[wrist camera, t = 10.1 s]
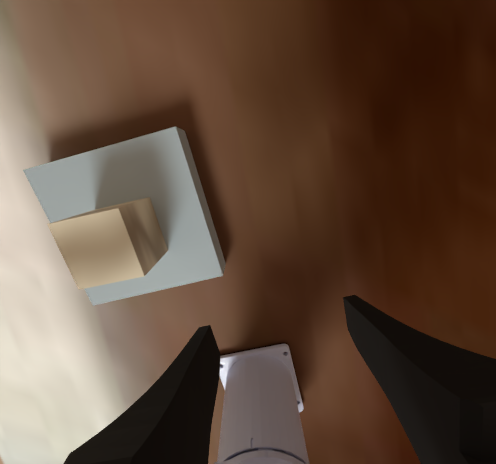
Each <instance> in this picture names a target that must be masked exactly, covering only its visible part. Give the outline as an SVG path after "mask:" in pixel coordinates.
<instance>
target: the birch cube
mask: <svg viewBox="0 0 496 464" xmlns="http://www.w3.org/2000/svg"><path fill="white" fill-rule="evenodd" d="M47 225H48V227H49V229H50V231H51V233H52V235H53V237H54V239H55V241H56V243H57V245H58V248H59V250H60V252H61V254H62V256H63V258H64V260H65V262H66V264H67V266H68V268H69V270H70V272H71V275H72V277H73V279H74V281H75V283H76V285H77V287H78V289H79V290H80V289H85V288H90V287H95V286H100V285H105V284H110V283H115V282H119V281H124V280H129V279H134V278H139V277H144V276H145V275H146V274H147V273H148V272H149V271H150V270H151V269H152V268H153V267H154V266H155V264H156V263H157V262H158V261H159V260H160V259H161V258H162V257H163V256H164V255H165V253H166V252H167V251H168V249H167V246H166V243H165V240H164V237H163V234H162V231H161V228H160V226H159V223H158V220H157V217H156V214H155V211H154V208H153V205H152V202H151V199H150V197H148V198H143V199H139V200H134V201H130V202H126V203H121V204H117V205H112V206H108V207H104V208H99V209H95V210H92V211H88V212H85V213H82V214H79V215H75V216H72V217H69V218H66V219H62V220H59V221H56V222H53V223H49V224H47Z"/></svg>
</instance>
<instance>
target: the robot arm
mask: <svg viewBox="0 0 496 464" xmlns="http://www.w3.org/2000/svg"><path fill="white" fill-rule="evenodd" d="M343 300H344V307H345V313H346V320H347V326H348V331H349V333H350V335H351V337H352V339H353V341H354V343H355V345H356V347H357V349H358V351H359V353H360V354H361V356H362V357H363V359H364V361H365V362H366V364H367V365H368V367H369V369H370V370H371V372H372V373H373V375H374V376H375V378H376V380H377V381H378V383H379V384H380V386H381V388H382V389H383V391H384V392H385V394H386V396H387V398H388V399H389V401H390V403H391V405H392V407H393V409H394V411H395V413H396V414H397V416H398V418H399V420H400V422H401V424H402V426H403V428H404V430H405V432H406V434H407V436H408V438H409V440H410V442H411V444H412V446H413V448H414V450H415V452H416V454H417V456H418V458H419V460H420V462H421V464H496V359H493V358H490V357H487V356H483V355H480V354H477V353H474V352H471V351H468V350H465V349H462V348H459V347H456V346H454V345H451V344H448V343H445V342H443V341H440V340H438V339H435V338H433V337H431V336H428V335H426V334H424V333H422V332H419V331H417V330H415V329H413V328H411V327H409V326H407V325H405V324H403V323H401V322H399V321H397V320H396V319H394V318H392V317H390V316H388V315H387V314H385V313H383V312H382V311H380V310H378V309H377V308H375V307H373V306H372V305H370V304H369V303H367V302H365V301H364V300H362V299H361V298H359V297H358V296H356V295H352V296H347V297H343ZM284 352H286V353H284ZM220 364H222V365H220ZM219 375H220V378H221V381H222V384H223V386H224V389H225V396H224V405H223V414H222V424H221V433H220V442H219V451H218V461H217V462H215V463H214V464H309V460H308V455H307V450H306V445H305V440H304V435H303V430H302V425H301V420H300V414H299V412H301V411H303V409H304V407H303V403H302V399H301V395H300V391H299V387H298V382H297V378H296V374H295V370H294V366H293V362H292V358H291V354H290V349H289V346H288V345H287V344H279V345H274V346H269V347H263V348H258V349H253V350H248V351H243V352H238V353H233V354H228V355H223V356H220V352H219V349H218V346H217V344H216V341H215V338H214V335H213V332H212V329H211V326H210V325H208V326H203V327H199V328H198V330H197V331H196V332H195V334H194V335H193V336H192V338H191V339H190V340H189V342H188V343H187V345H186V346H185V347H184V349H183V350H182V351H181V352H180V354H179V355H178V356H177V358H176V359H175V360H174V361H173V363H172V364H171V365H170V366H169V367H168V369H167V370H166V371H165V372H164V373H163V375H162V376H161V377H160V378H159V379H158V380H157V381H156V382H155V383H154V384H153V385H152V386H151V387H150V389H149V390H148V391H147V392H146V393H145V394H144V395H142V396H141V397H140V398H139V399H138V400H137V401H136V402H135V403H134V404H133V405H132V406H131V407H129V408H128V409H127V410H126V411H125V412H124V413H123V414H121V415H120V416H119V417H118V418H117V419H116V420H114V421H113V422H112V423H111V424H109V425H108V426H107V427H106V428H104V429H103V430H102V431H100V432H99V433H98V434H96V435H95V436H94V437H92V438H91V439H90V440H88V441H87V442H85V443H84V444H83V445H81V446H80V447H78V448H77V449H76V450H74V451H73V452H71V453H70V454H69V456H68V457H67V459H66V461H65V462H64V464H208V456H209V443H210V432H211V424H212V417H213V411H214V406H215V400H216V394H217V388H218V382H219Z"/></svg>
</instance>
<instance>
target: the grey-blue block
mask: <svg viewBox="0 0 496 464" xmlns="http://www.w3.org/2000/svg"><path fill="white" fill-rule="evenodd" d="M23 171H24V173H25V175H26V177H27V179H28V181H29V183H30V184H31V186H32V188H33V190H34V192H35V194H36V196H37V198H38V200H39V202H40V204H41V206H42V208H43V210H44V212H45V214H46V216H47V217H48V219H49V221H50V223H53V222H56V221H59V220H62V219H66V218H69V217H72V216H75V215H79V214H82V213H85V212H88V211H92V210H95V209H99V208H104V207H108V206H112V205H117V204H121V203H126V202H130V201H134V200H139V199H143V198H148V197H150V199H151V202H152V205H153V208H154V211H155V214H156V217H157V220H158V223H159V226H160V228H161V231H162V234H163V237H164V240H165V243H166V246H167V249H168V251H167V252H166V253H165V255H164V256H163V257H162V258H161V259H160V260H159V261H158V262H157V263H156V264H155V266H154V267H153V268H152V269H151V270H150V271H149V272H148V273H147V274H146V275H145V276H144V277H139V278H134V279H129V280H124V281H119V282H115V283H110V284H105V285H100V286H95V287H90V288H85V291H86V293H87V295H88V297H89V299H90V301H91V303H92V305H98V304H102V303H106V302H111V301H115V300H119V299H124V298H128V297H132V296H137V295H141V294H145V293H150V292H154V291H159V290H163V289H167V288H172V287H176V286H180V285H185V284H189V283H193V282H198V281H202V280H206V279H211V278H215V277H219V276H223V273H224V269H225V265H226V263H225V260H224V257H223V253H222V250H221V247H220V244H219V240H218V237H217V234H216V231H215V227H214V224H213V221H212V218H211V214H210V211H209V208H208V205H207V201H206V198H205V195H204V192H203V188H202V185H201V182H200V179H199V175H198V172H197V169H196V166H195V162H194V159H193V156H192V153H191V149H190V146H189V143H188V140H187V136H186V133H185V131H184V130H182V129H180V128H178V127H172V128H169V129H165V130H162V131H158V132H155V133H151V134H148V135H144V136H141V137H137V138H134V139H130V140H127V141H123V142H120V143H116V144H113V145H109V146H106V147H102V148H99V149H95V150H92V151H88V152H85V153H81V154H78V155H74V156H71V157H67V158H64V159H60V160H57V161H53V162H49V163H46V164H42V165H39V166H35V167H32V168H28V169H25V170H23Z"/></svg>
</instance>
